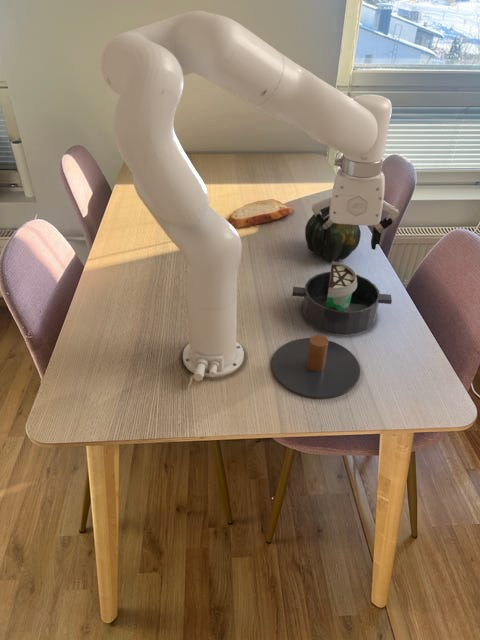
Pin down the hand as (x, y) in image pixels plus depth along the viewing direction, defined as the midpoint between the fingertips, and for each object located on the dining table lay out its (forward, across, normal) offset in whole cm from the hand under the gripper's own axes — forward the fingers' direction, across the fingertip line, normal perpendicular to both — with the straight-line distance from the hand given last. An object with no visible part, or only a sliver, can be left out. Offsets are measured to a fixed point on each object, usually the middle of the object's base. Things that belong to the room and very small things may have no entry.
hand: (349, 244), depth 109 cm
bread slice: (+18, -23, +47) cm, 56 cm away
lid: (+17, -5, -20) cm, 27 cm away
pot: (+18, 0, 0) cm, 18 cm away
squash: (+18, -2, +28) cm, 34 cm away
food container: (+18, 0, 0) cm, 18 cm away
